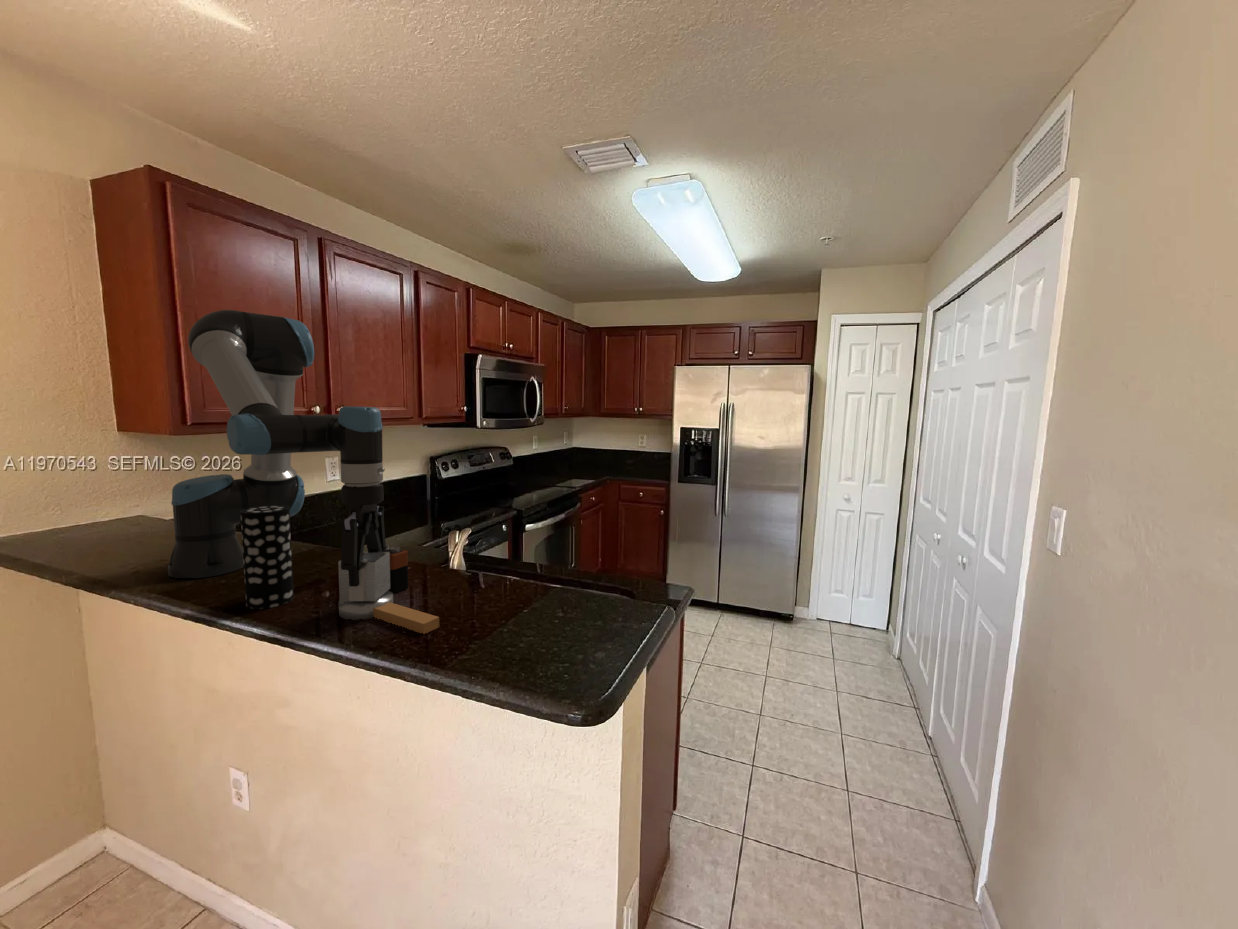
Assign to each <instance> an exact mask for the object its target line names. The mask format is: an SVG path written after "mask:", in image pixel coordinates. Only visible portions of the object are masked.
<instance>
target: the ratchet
mask: <svg viewBox="0 0 1238 929" xmlns="http://www.w3.org/2000/svg"><path fill="white" fill-rule="evenodd" d="M338 615H339V617H340V618H342V619H344V620H348V619H352V620H351V621H360V620H359V619H363V620H368V619H373V618H372V617H375V618H374V619H376V618H377V620H379V619H382V620H384V621H383V622H385V621H386V623H389V624H391V623H392V625H394V624H395V626H397V625H398V627H400V626H402V627H401V628H403V627H405V628H404V629H406V628H407V629H406V630H410V631H412V630H413V632H416V633H419V634H422V633H423V635H426V634H428V633H429V632H430V633H431V632H432V631H434V630H436V629H438V628H440V617H439V616H437V615H433V614H430V613H427V612H423V611H419V610H416V609H414V608H410V607H406V606H404V605H400V604H397V603H394V594H393V593H392V592H390V591H387V592H385V593H384V594H383V595H382V596H381V597H380V598H378V599H377V600H376V601H340V599H339V601H338ZM382 620H381V621H382ZM425 633H426V634H425Z"/></svg>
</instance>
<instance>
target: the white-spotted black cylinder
mask: <svg viewBox="0 0 1238 929" xmlns="http://www.w3.org/2000/svg"><path fill="white" fill-rule="evenodd" d="M240 513H241V524H240V526H241V543H242V545H241V547H242V549H243V562H244V567H243V577H244V579H243V580H244V593H245V595H244V596H245V606H246V607H247V608H249V609H252V610H253V609H254V610H263V609H271V608H277V607H279V606H282V605H286V604H288V603H290V602H292V601H293V600H294V599H295V597H294V596H295V594H294V576H293V575H294V574H293V556H292V555H293V554H292V534H291V532H292V531H291V517H290V510H289V507H288V506H281V505H271V506H259V507H252V508H247V509H243V510H241V511H240ZM292 599H293V600H292ZM285 603H286V604H285Z"/></svg>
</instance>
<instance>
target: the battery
mask: <svg viewBox="0 0 1238 929" xmlns="http://www.w3.org/2000/svg"><path fill="white" fill-rule="evenodd" d="M382 551H386V552H389V553H390V589H389V590H388V591H390V592H392V593H393V595H394V594H397V593H399V592H401V591H405V590H408V589H409V570H408V569H409V567H408V565H409V564H408V560H409V558H408V556H409V555H408V550H405V549H401V548H400V547H399V546H392V547H391V546H389V545H388V544H386V549H385V550H382Z"/></svg>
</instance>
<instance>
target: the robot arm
mask: <svg viewBox="0 0 1238 929" xmlns="http://www.w3.org/2000/svg"><path fill="white" fill-rule="evenodd" d="M187 340H188V341H187V342H188V348H189V350H190V352H191V354H192V357H193V358H194V359H195V360H196V362H197V363H198V364H200V365H201V366H203V367H205V369H206V370H207V372H208V374H209V376H210V378H211V379H212V381H213V383H214V385H215V386H216V388H217V390H218V392H219V393H220V395H221V397H222V400H223V402H224V403H225V405H226V408H228V411H229V413H230V414H231V416H230V417H229V418H228V420H227V424H226V437H227V438H226V439H227V440H228V446H229V447H230V449H231V451H232V452H233V453H235V454H237V455H241V456H242V455H251V456H250V457H251V458H250V459H251V460H250V465H249V466H247V467H246V468H245V469H244V470H243V472H242V473H243V474H242V475H243V477H242V478H239V479H237V478H235V479H234V477H233V476H232V475H231V474H227V473H225V474H212V475H205V476H198V477H193V478H189V479H185V480H182V481H179V482H178V483H175V485H174V486H173V487H172V491H171V503H170V504H171V506H172V512H173V513H172V514H173V527H174V540H175V542H174V546H173V550H172V553H171V556H170V559H169V561H168V565H167V575H170V576H172V577H175V578H174V579H176V578H195V579H204V578H210V577H216V576H220V575H225V574H229V573H232V572H236V571H237V570H241V569H244V562H243V546H242V545H241V542H240V541H239V539H238V536H237V528H236V526H237V525H241V513H240V511H241V510H243V509H247V508H252V507H259V506H271V505H281V506H288V507H289V510H290V518H291V517H293V516H296V515H297V514H298V513H299V512H300V511H301V509H302V507H303V505H304V501H305V496H306V493H305V492H306V489H305V482H304V480H303V478H302V477H301V476H300V475H298V472H297V471H296V469H295V468H293V467H292V466H291V465H292V464H291V463H292V454H293V453H295V454H296V453H297V454H298V453H319V452H320V453H321V452H340V453H339V454H340V460H339V462H340V482H341V483H343V485H342V486H341V502H342V504H343V505H347V506H349V512H348V517H347V518H341V520H340V522H339V523H340V528H341V544H340V545H341V547H340V548H341V549H340V551H341V554H340V560H341V569H342V570H348V581H349V601H364V600H365V588H364V568H361V566H362V558H363V552H365V550H364V549H365V544H366V547H367V552H386V551H382V550H385V549H386V545H387V543H386V542H387V541H386V533H385V532H386V530H385V518H384V515H385V507H384V506H380V505H377V504H380V503H382V502H384V499H385V498H384V497H385V494H384V485H383V483H382V481H383V480H384V472H385V467H384V465H383V459H384V458H383V457H384V456H383V423H382V415H381V414H382V413H381V410H380V409H379V408H377V407H375V406H372V407H371V406H342V407H340V408H339V410H338V414H324V415H323V414H294V412H295V395H296V382H297V380H298V379H300V378H301V377H302V376H304V368H309V367H311V366H312V365H313V362H314V361H315V345H314V341H313V337H312V335H311V332H310V330H309V329H308V327H307V326H306V324H304V323H303V322H302V321H301V320H298V319H293V318H290V317H285V316H278V315H273V314H272V315H270V314H263V313H254V312H248V311H240V310H235V309H222V310H221V309H220V310H217V311H211V312H210V313H207V314H205V315H203V316H202V317H200V318H199V319H198V320H197V321H195V323H194V324H193V325H192V327H191V329H190V331H189V333H188V338H187Z"/></svg>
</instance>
